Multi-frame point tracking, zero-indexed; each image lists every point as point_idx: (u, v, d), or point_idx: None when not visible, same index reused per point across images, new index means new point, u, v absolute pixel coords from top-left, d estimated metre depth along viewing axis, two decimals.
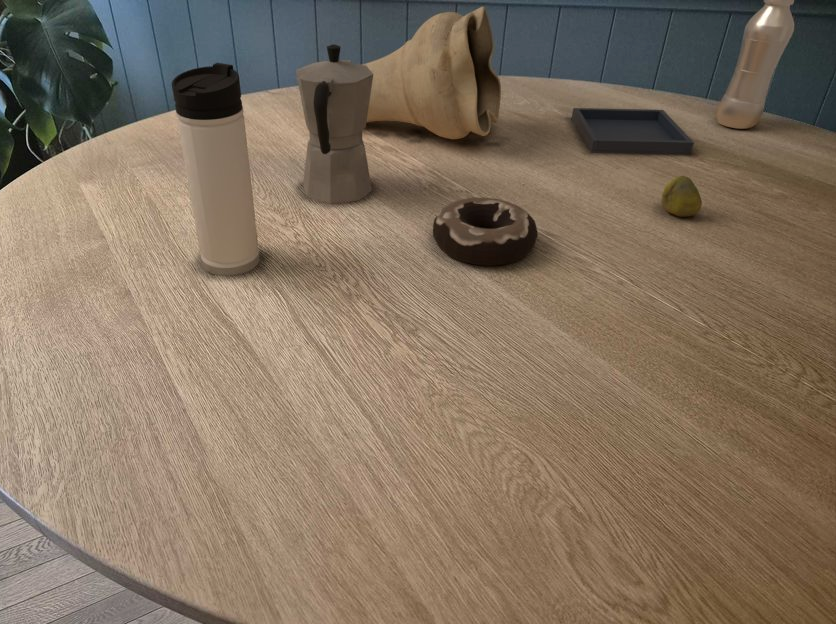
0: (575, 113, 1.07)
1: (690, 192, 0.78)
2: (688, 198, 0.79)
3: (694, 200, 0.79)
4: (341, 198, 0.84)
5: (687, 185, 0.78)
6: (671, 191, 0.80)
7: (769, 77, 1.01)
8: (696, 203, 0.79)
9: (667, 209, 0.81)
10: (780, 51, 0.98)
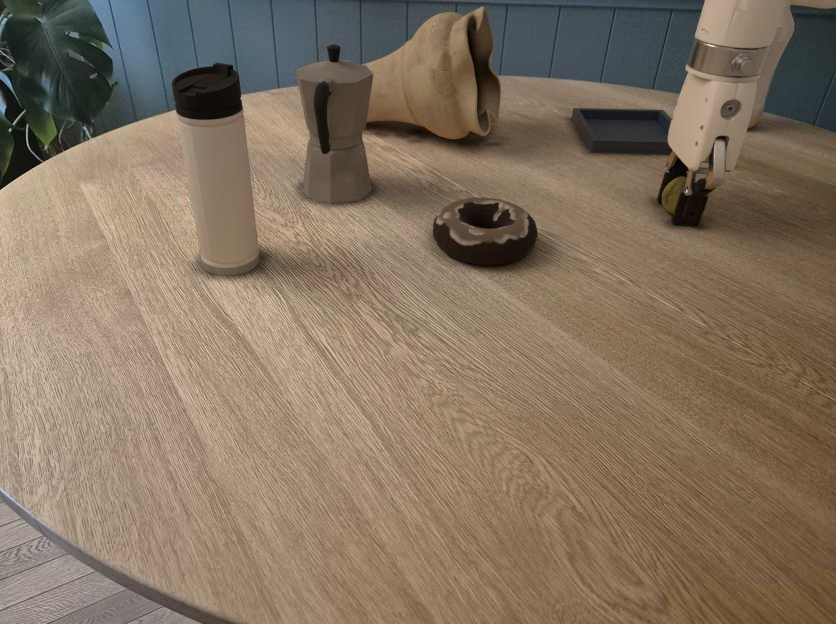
0: (575, 113, 1.07)
1: None
2: None
3: None
4: (341, 198, 0.84)
5: None
6: (671, 192, 0.80)
7: (769, 77, 1.01)
8: None
9: (667, 209, 0.81)
10: (780, 51, 0.98)
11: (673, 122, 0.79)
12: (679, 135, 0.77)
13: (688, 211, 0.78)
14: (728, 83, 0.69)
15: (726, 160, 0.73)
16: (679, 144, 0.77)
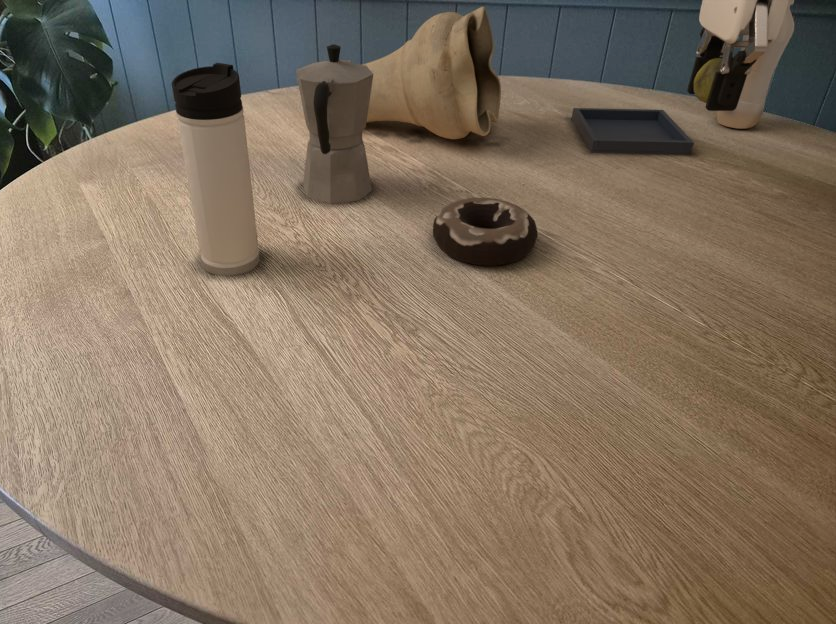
0: (575, 113, 1.07)
1: None
2: None
3: None
4: (341, 198, 0.84)
5: None
6: (704, 75, 0.73)
7: (769, 77, 1.01)
8: None
9: (700, 96, 0.74)
10: (780, 51, 0.98)
11: None
12: (714, 8, 0.70)
13: (725, 93, 0.71)
14: None
15: (768, 27, 0.66)
16: (714, 18, 0.70)
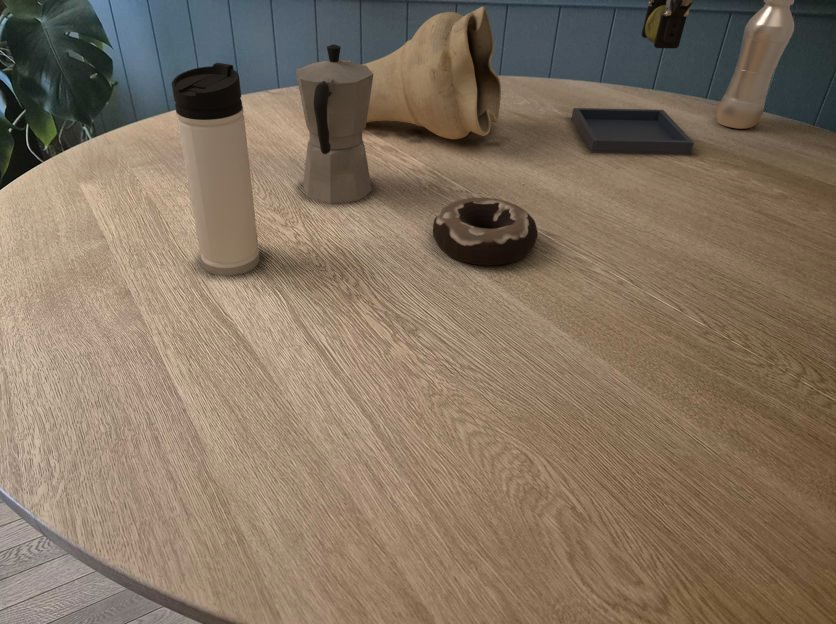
0: (575, 113, 1.07)
1: None
2: None
3: None
4: (341, 198, 0.84)
5: None
6: (653, 19, 0.89)
7: (769, 77, 1.01)
8: None
9: (650, 37, 0.91)
10: (780, 51, 0.98)
11: None
12: None
13: (669, 32, 0.88)
14: None
15: None
16: None
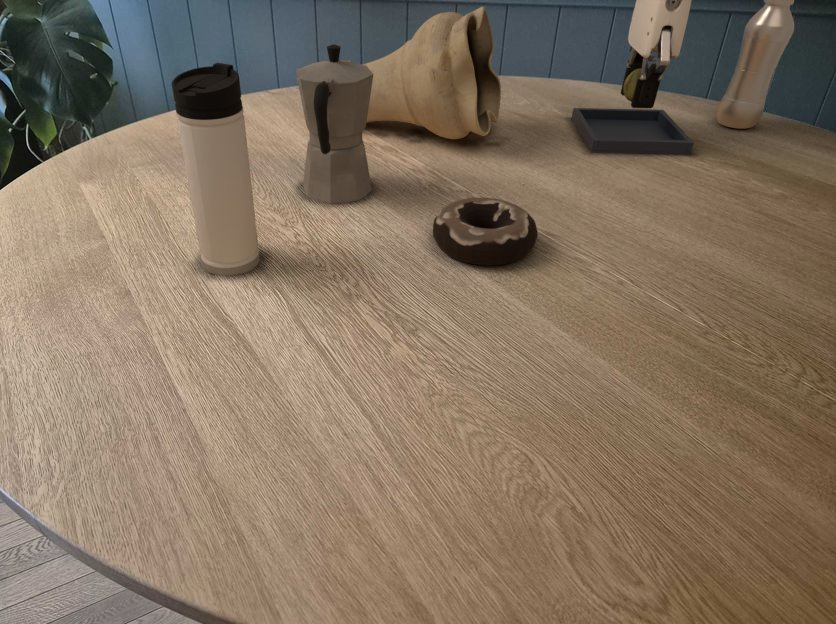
0: (575, 113, 1.07)
1: None
2: None
3: None
4: (341, 198, 0.84)
5: None
6: (630, 81, 0.98)
7: (769, 77, 1.01)
8: None
9: (627, 97, 0.99)
10: (780, 51, 0.98)
11: (632, 23, 0.96)
12: (636, 31, 0.94)
13: (644, 94, 0.96)
14: None
15: (671, 47, 0.90)
16: (636, 39, 0.95)
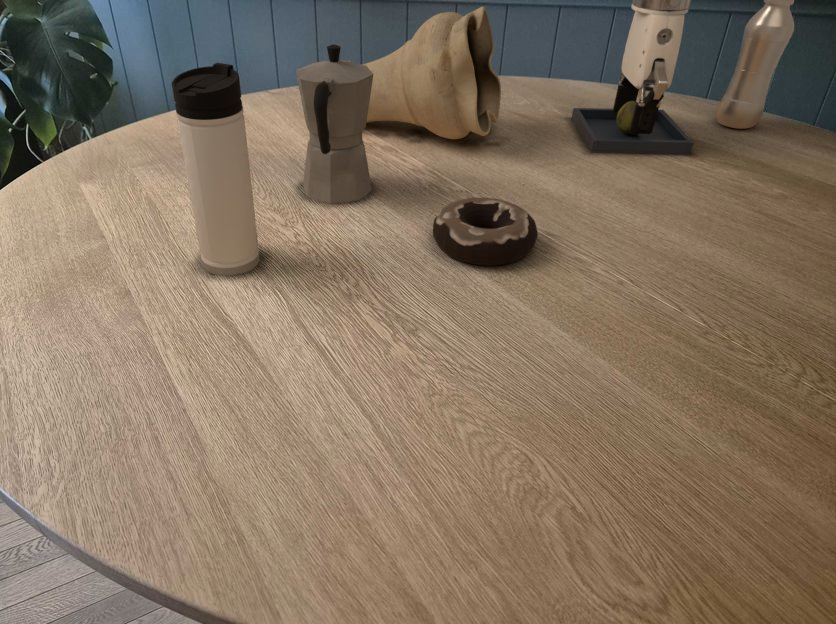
0: (575, 113, 1.07)
1: None
2: None
3: None
4: (341, 198, 0.84)
5: None
6: (623, 113, 1.00)
7: (769, 77, 1.01)
8: None
9: (620, 128, 1.02)
10: (780, 51, 0.98)
11: (625, 53, 0.99)
12: (628, 62, 0.97)
13: (642, 121, 0.96)
14: (661, 15, 0.89)
15: None
16: (629, 69, 0.97)
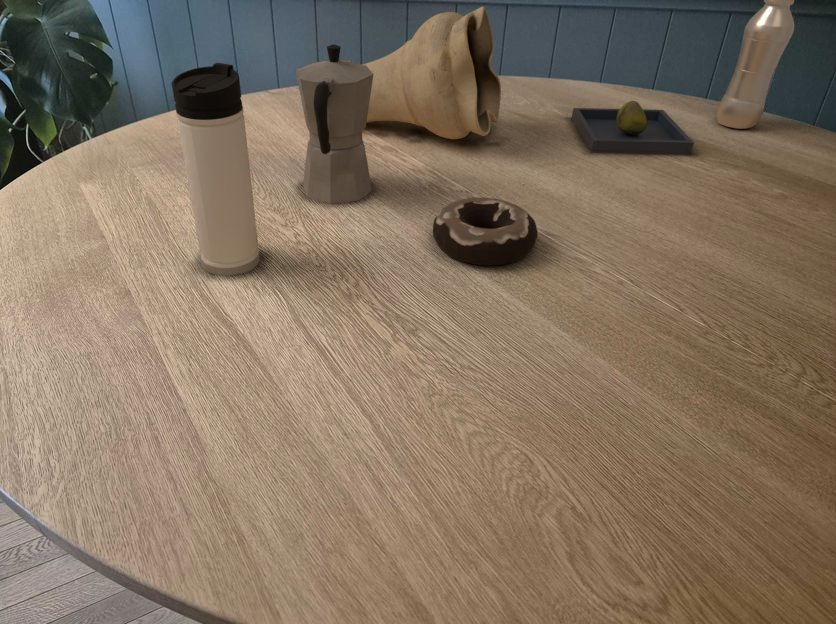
0: (575, 113, 1.07)
1: (637, 112, 0.99)
2: (636, 117, 0.99)
3: (641, 119, 0.99)
4: (341, 198, 0.84)
5: (635, 107, 0.99)
6: (623, 113, 1.00)
7: (769, 77, 1.01)
8: (642, 121, 0.99)
9: (620, 128, 1.02)
10: (780, 51, 0.98)
11: None
12: None
13: None
14: None
15: None
16: None
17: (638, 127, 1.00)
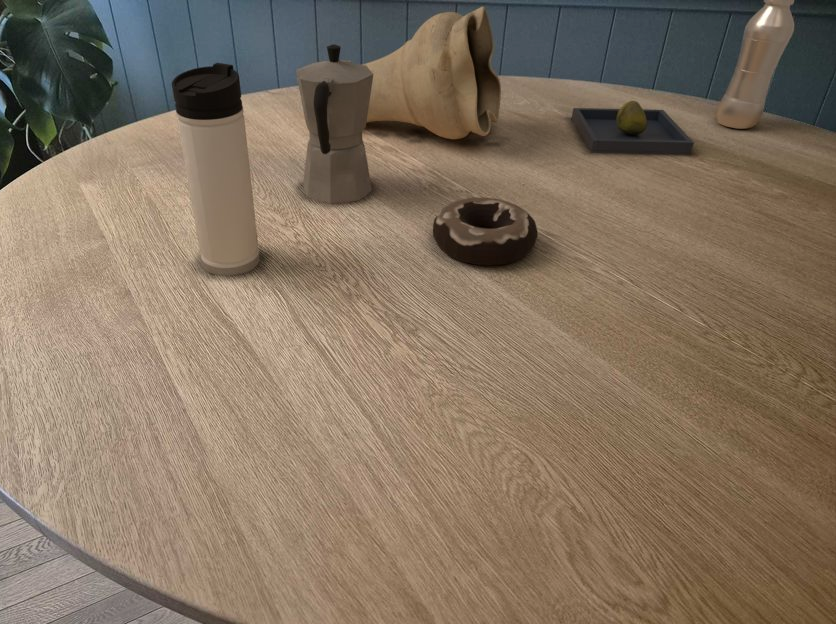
0: (575, 113, 1.07)
1: (637, 112, 0.99)
2: (636, 117, 0.99)
3: (641, 119, 0.99)
4: (341, 198, 0.84)
5: (635, 107, 0.99)
6: (623, 113, 1.00)
7: (769, 77, 1.01)
8: (642, 121, 0.99)
9: (620, 128, 1.02)
10: (780, 51, 0.98)
11: None
12: None
13: None
14: None
15: None
16: None
17: (638, 127, 1.00)
